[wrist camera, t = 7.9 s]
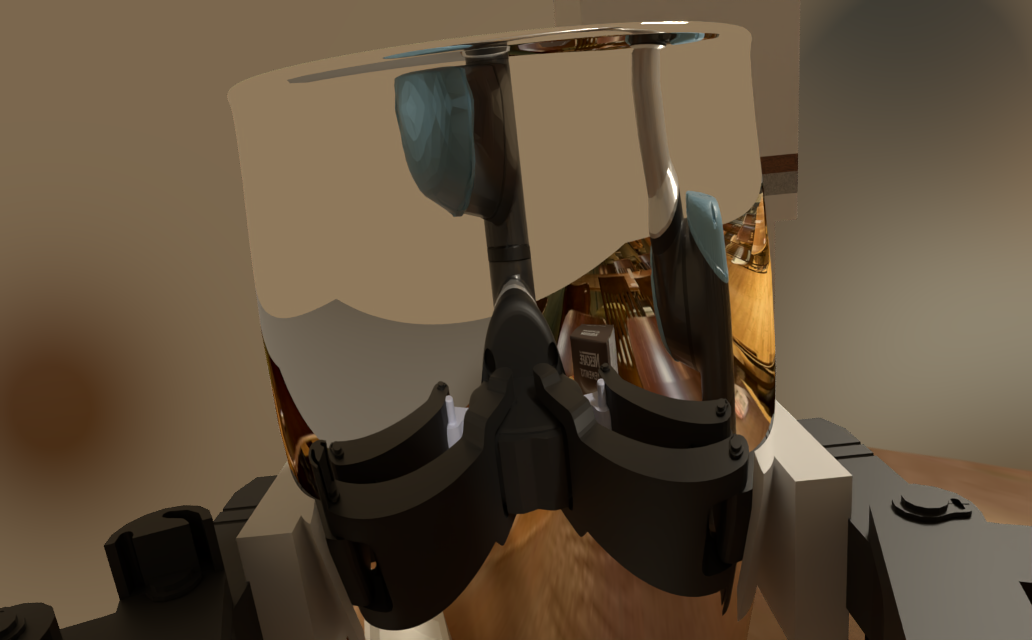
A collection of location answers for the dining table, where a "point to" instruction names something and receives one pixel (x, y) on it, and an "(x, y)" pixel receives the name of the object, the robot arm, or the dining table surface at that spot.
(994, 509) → the dining table surface
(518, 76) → the beer glass
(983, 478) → the dining table surface
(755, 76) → the tall white shelf unit
